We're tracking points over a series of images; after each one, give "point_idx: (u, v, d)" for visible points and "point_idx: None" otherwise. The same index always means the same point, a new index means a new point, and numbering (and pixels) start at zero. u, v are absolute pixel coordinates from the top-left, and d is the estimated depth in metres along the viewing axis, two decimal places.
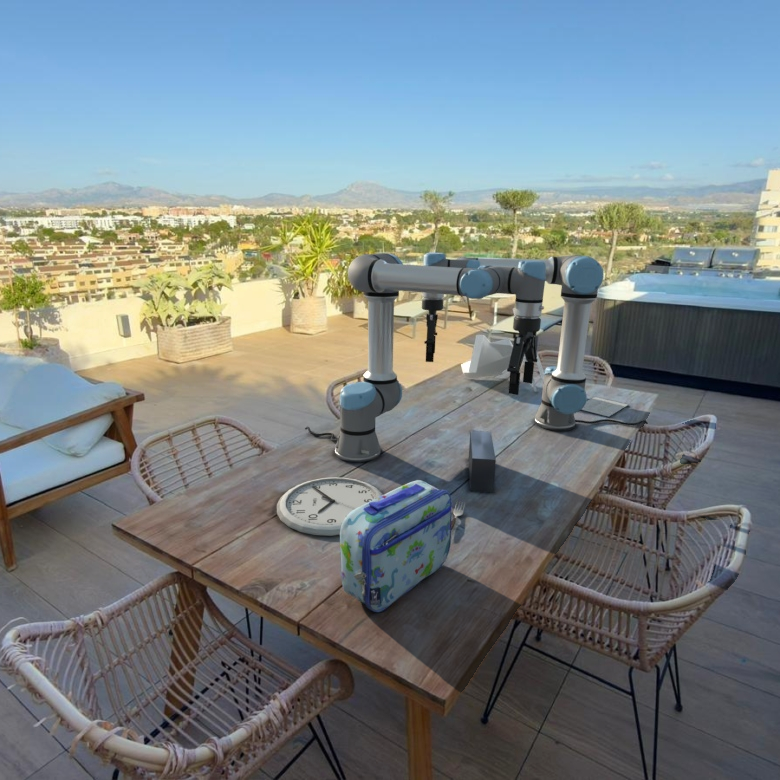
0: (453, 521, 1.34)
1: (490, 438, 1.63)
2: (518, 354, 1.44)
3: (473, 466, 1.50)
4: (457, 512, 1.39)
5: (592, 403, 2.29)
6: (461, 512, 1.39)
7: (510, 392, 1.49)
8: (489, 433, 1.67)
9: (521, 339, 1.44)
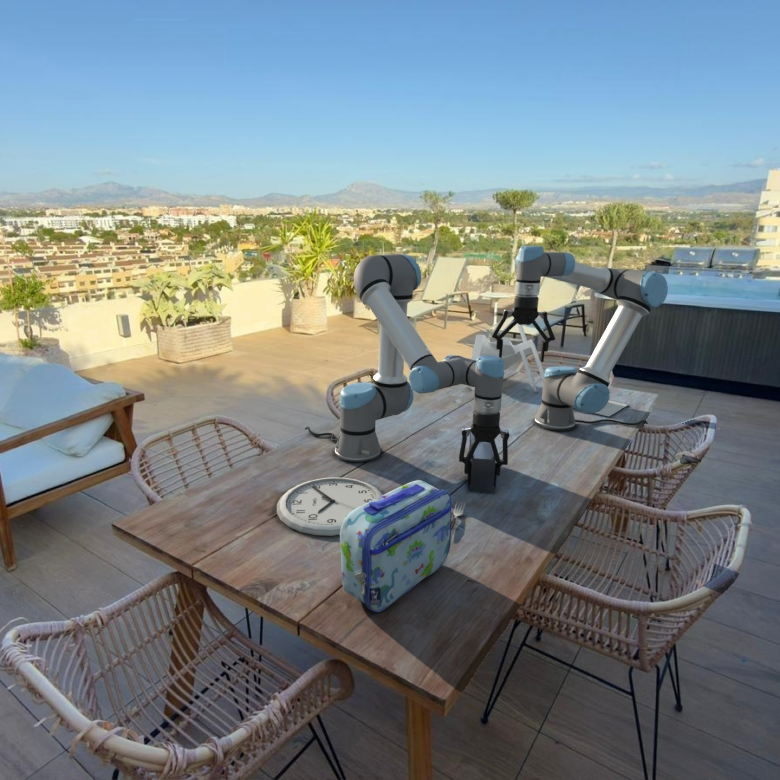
0: (453, 521, 1.34)
1: None
2: (461, 445, 1.51)
3: (473, 466, 1.50)
4: (457, 512, 1.39)
5: None
6: (461, 512, 1.39)
7: (467, 480, 1.55)
8: None
9: None
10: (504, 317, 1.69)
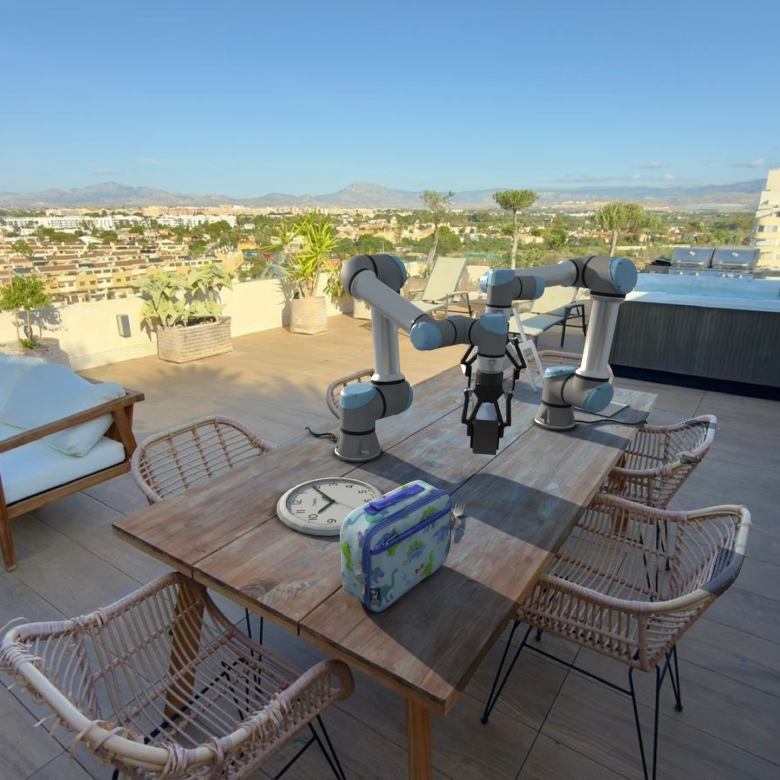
0: (453, 521, 1.34)
1: None
2: (463, 407, 1.47)
3: (476, 427, 1.46)
4: (457, 512, 1.39)
5: None
6: (461, 512, 1.39)
7: None
8: None
9: (464, 392, 1.46)
10: None
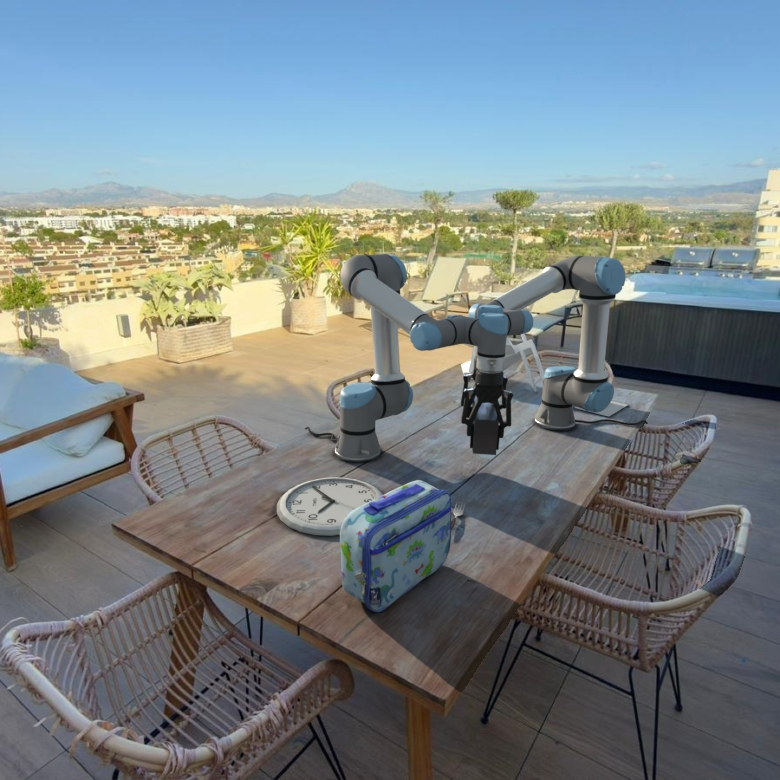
0: (453, 521, 1.34)
1: None
2: (463, 407, 1.47)
3: (476, 427, 1.46)
4: (457, 512, 1.39)
5: None
6: (461, 512, 1.39)
7: None
8: None
9: (464, 392, 1.46)
10: (465, 383, 1.60)
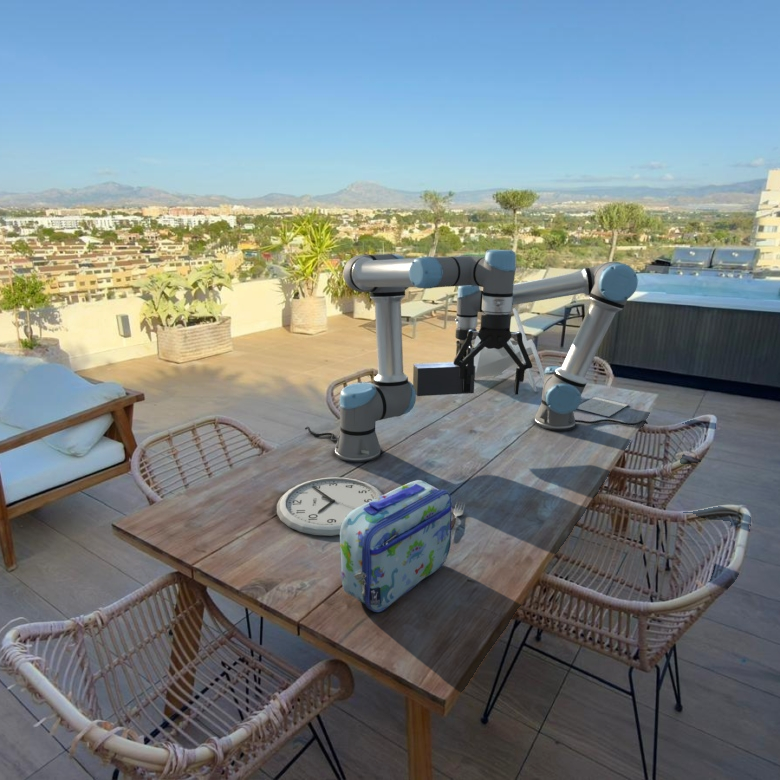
0: (453, 521, 1.34)
1: None
2: (462, 347, 1.36)
3: (413, 370, 1.93)
4: (457, 512, 1.39)
5: (592, 403, 2.29)
6: (461, 512, 1.39)
7: None
8: None
9: (468, 332, 1.35)
10: None
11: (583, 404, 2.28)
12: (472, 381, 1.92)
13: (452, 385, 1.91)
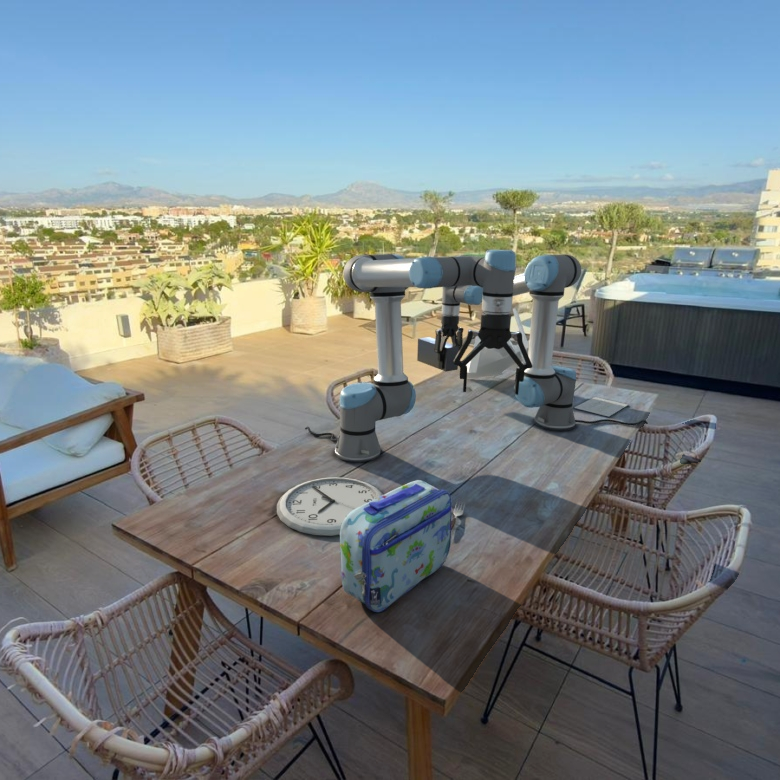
0: (453, 521, 1.34)
1: None
2: (462, 347, 1.36)
3: None
4: (457, 512, 1.39)
5: (592, 403, 2.29)
6: (461, 512, 1.39)
7: None
8: (445, 347, 2.24)
9: (468, 332, 1.35)
10: None
11: (583, 404, 2.28)
12: (445, 360, 2.24)
13: (434, 360, 2.31)
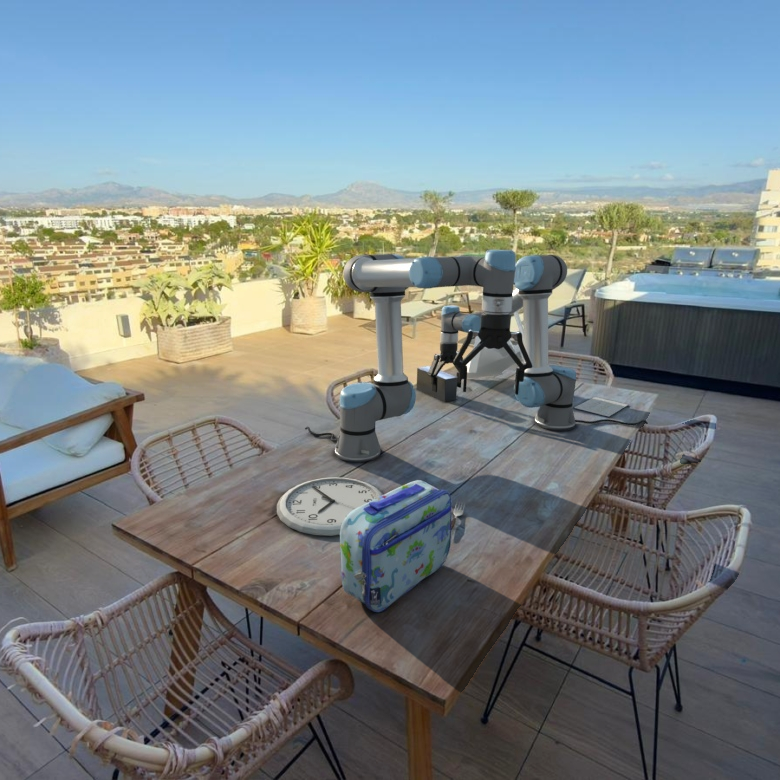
0: (453, 521, 1.34)
1: (438, 375, 2.31)
2: (462, 347, 1.36)
3: None
4: (457, 512, 1.39)
5: (592, 403, 2.29)
6: (461, 512, 1.39)
7: None
8: (444, 378, 2.28)
9: (468, 332, 1.35)
10: None
11: (583, 404, 2.28)
12: (443, 391, 2.28)
13: None
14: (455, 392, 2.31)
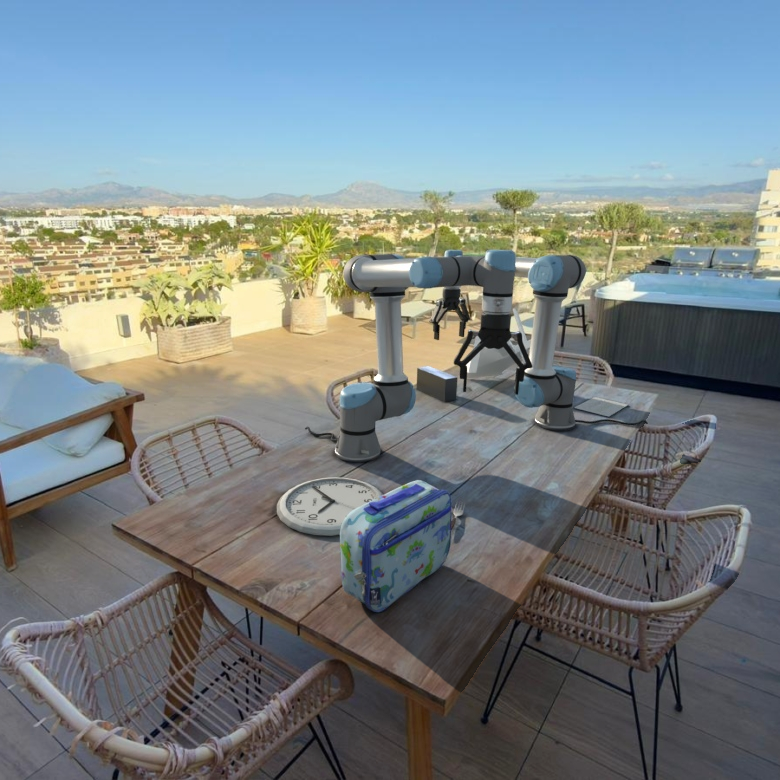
0: (453, 521, 1.34)
1: (438, 375, 2.31)
2: (462, 347, 1.36)
3: None
4: (457, 512, 1.39)
5: (592, 403, 2.29)
6: (461, 512, 1.39)
7: None
8: (444, 378, 2.28)
9: (468, 332, 1.35)
10: None
11: (583, 404, 2.28)
12: (443, 391, 2.28)
13: (433, 389, 2.35)
14: (455, 392, 2.31)
